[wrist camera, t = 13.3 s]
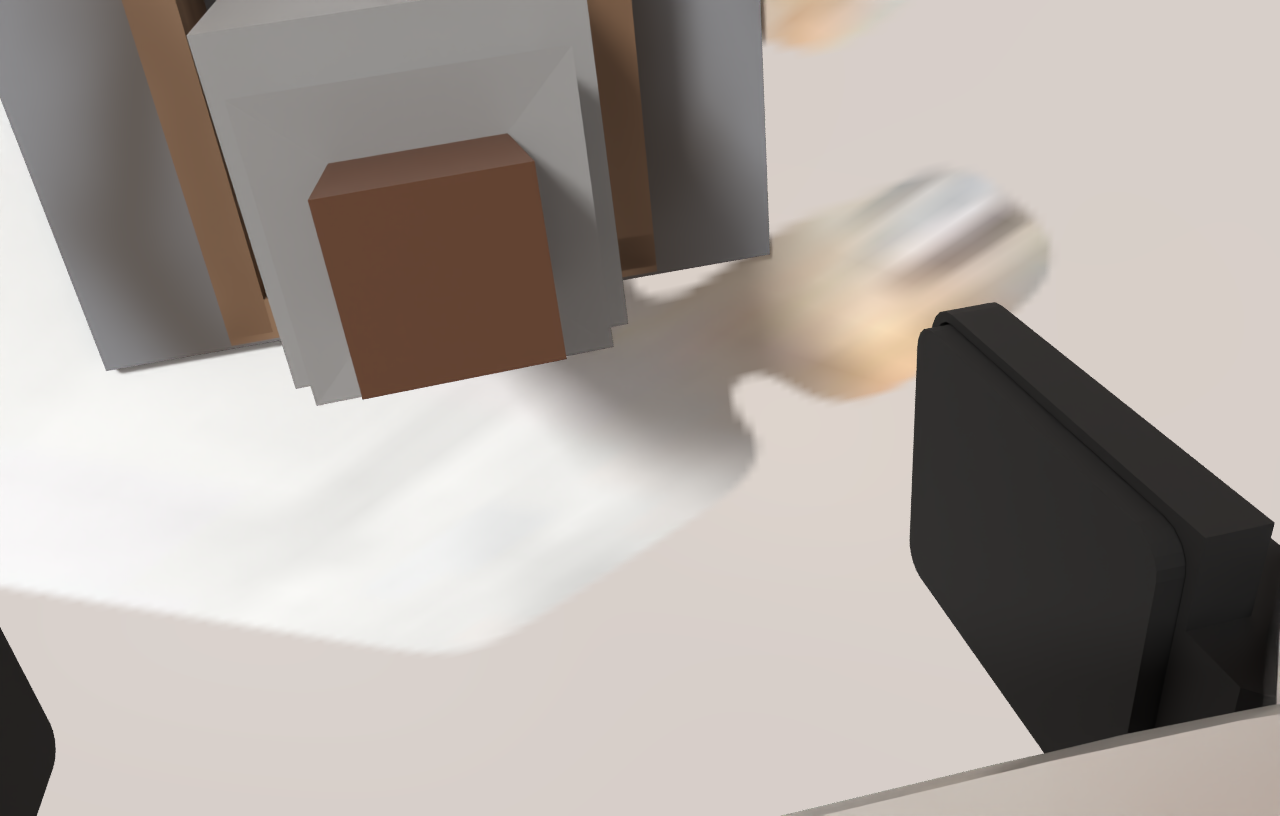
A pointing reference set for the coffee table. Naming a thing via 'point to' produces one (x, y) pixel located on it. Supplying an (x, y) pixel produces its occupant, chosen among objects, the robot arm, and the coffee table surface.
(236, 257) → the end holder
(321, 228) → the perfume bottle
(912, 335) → the coffee table surface
